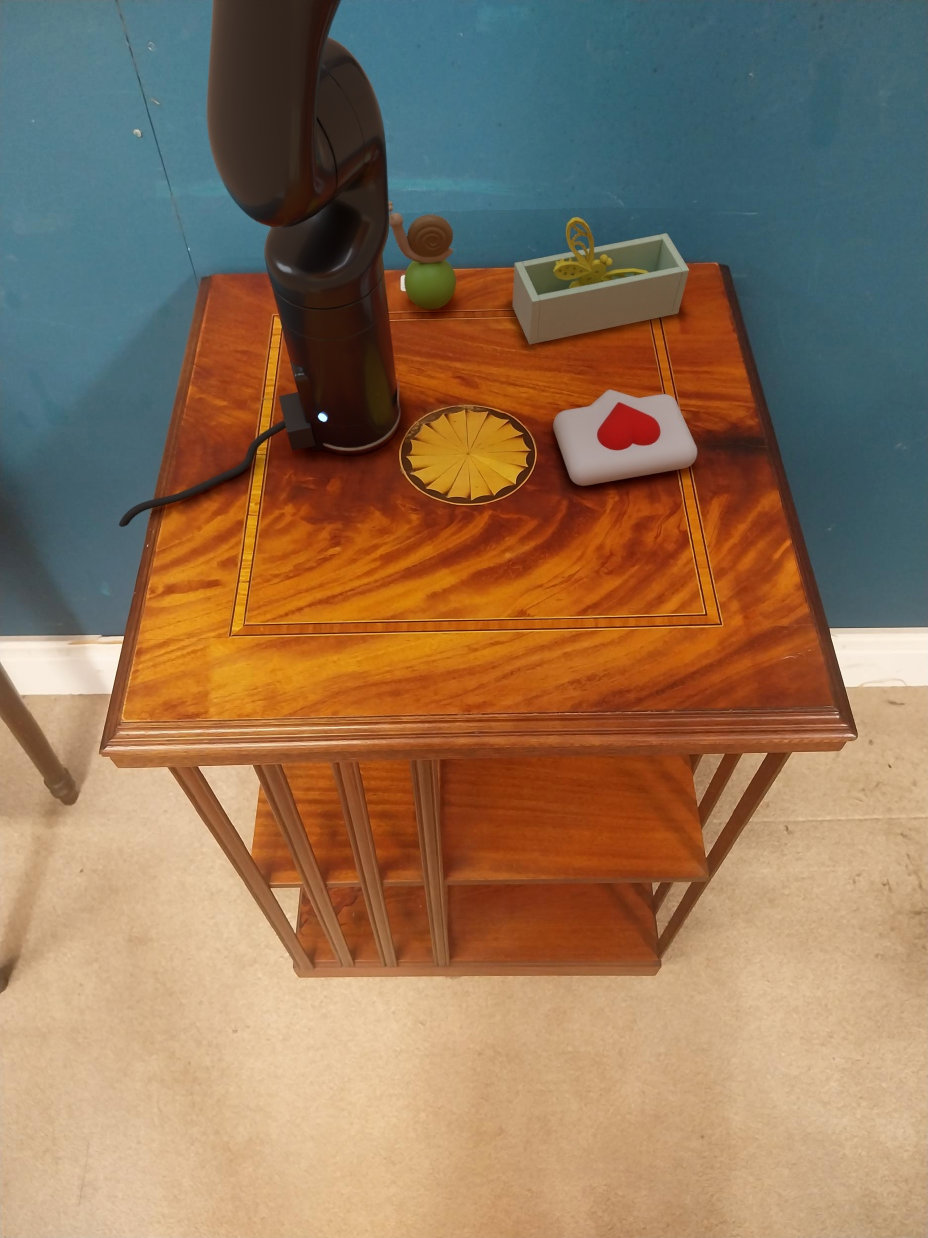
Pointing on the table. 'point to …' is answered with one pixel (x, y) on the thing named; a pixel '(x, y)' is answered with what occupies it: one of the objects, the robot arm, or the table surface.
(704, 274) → the table surface
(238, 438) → the table surface
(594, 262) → the decorative insect
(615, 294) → the slot tray
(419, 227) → the snail figurine
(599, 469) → the icon
